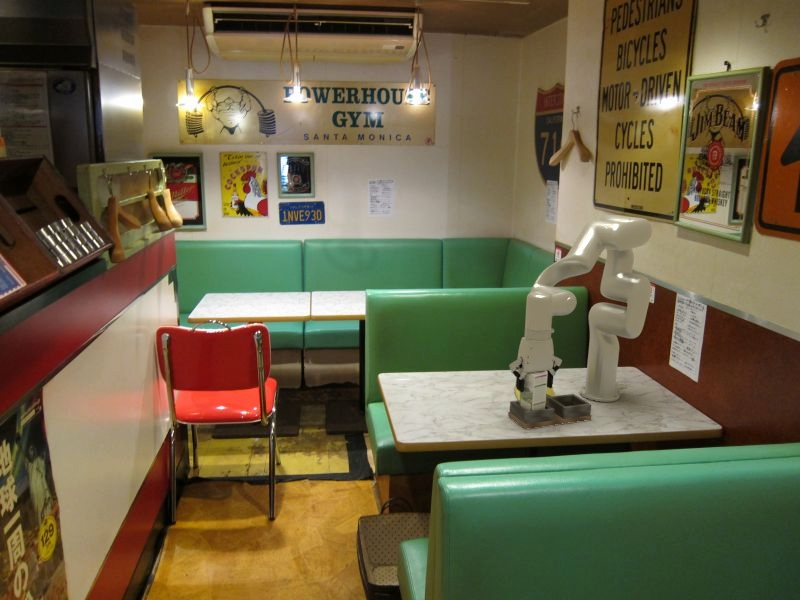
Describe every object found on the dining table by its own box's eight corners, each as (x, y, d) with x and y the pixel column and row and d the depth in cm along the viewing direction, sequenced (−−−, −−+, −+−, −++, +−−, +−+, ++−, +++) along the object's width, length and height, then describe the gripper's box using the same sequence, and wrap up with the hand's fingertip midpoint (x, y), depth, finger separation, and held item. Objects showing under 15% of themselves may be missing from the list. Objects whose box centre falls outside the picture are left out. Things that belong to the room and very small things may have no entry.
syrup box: (545, 417, 205) (549, 371, 201) (530, 421, 201) (534, 374, 198) (532, 411, 209) (535, 366, 206) (517, 414, 206) (520, 369, 203)
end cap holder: (572, 408, 216) (573, 393, 215) (591, 420, 207) (592, 404, 206) (508, 416, 208) (509, 401, 207) (524, 429, 199) (526, 413, 198)
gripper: (556, 327, 206) (552, 381, 210) (505, 332, 200) (502, 387, 204) (570, 334, 199) (566, 389, 203) (518, 340, 193) (515, 396, 197)
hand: (534, 388), depth 204 cm, fingers open, 9 cm apart
